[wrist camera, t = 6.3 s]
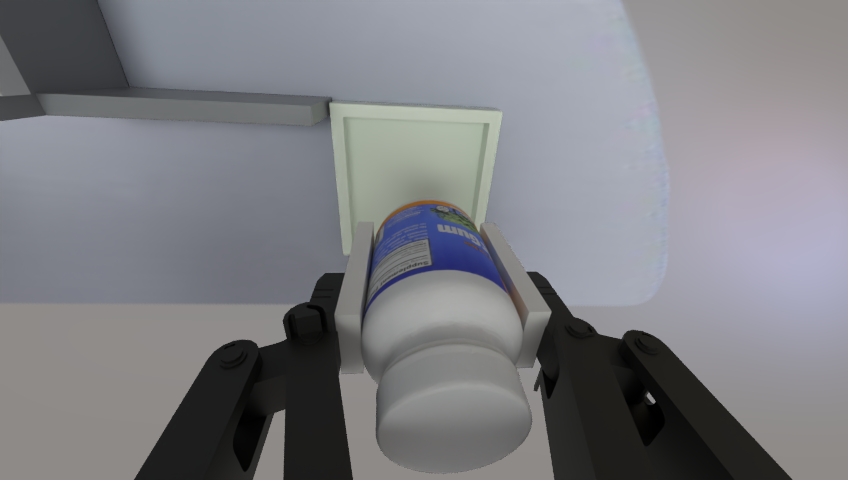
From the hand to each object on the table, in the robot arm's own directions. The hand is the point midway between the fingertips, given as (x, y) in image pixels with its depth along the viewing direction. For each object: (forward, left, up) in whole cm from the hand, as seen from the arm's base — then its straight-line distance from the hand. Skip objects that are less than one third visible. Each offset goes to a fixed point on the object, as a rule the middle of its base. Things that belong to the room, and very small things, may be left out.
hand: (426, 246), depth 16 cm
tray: (0, 0, -10) cm, 10 cm away
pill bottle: (0, 0, -1) cm, 1 cm away
